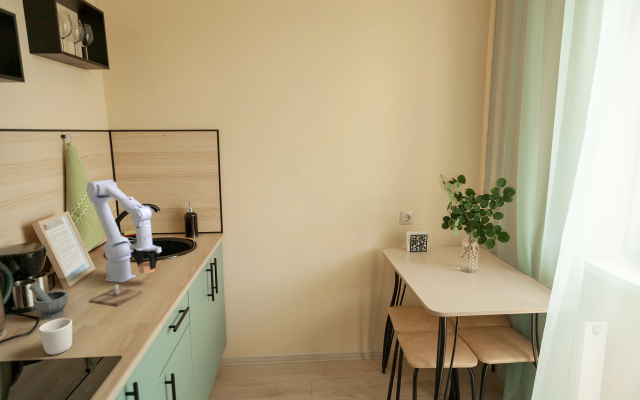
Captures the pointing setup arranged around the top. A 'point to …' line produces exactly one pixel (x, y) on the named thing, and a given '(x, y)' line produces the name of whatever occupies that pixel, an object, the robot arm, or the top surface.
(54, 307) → the mortar and pestle
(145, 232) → the robot arm
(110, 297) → the peg plate
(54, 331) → the cup
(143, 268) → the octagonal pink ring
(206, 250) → the top surface
